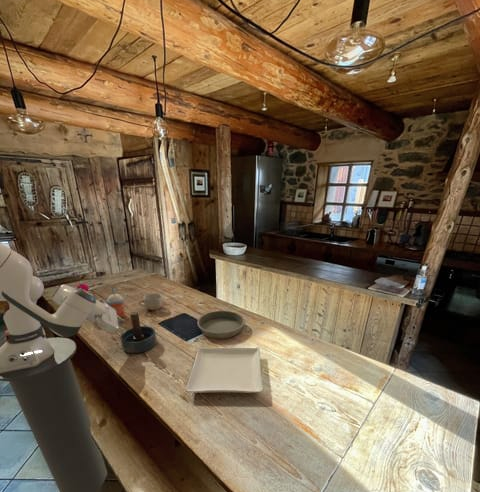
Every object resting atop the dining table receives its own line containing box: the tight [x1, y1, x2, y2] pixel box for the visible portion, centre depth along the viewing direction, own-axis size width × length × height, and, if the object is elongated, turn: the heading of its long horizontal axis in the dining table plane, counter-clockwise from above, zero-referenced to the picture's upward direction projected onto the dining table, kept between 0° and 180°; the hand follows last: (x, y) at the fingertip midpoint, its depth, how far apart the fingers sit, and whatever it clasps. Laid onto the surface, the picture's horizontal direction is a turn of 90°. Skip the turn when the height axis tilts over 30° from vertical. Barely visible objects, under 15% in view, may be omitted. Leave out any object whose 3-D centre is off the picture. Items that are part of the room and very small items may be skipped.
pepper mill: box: [76, 281, 90, 293], centre depth 154 cm, size 7×7×20 cm
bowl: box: [119, 325, 157, 354], centre depth 124 cm, size 15×15×6 cm
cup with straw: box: [105, 286, 125, 319], centre depth 150 cm, size 9×9×18 cm
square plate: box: [185, 347, 264, 394], centre depth 105 cm, size 27×27×4 cm
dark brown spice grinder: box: [129, 311, 144, 342], centre depth 122 cm, size 5×5×16 cm
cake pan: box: [196, 310, 246, 339], centre depth 139 cm, size 25×25×4 cm
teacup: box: [138, 292, 163, 311], centre depth 161 cm, size 14×11×8 cm
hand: (124, 326), depth 120 cm, fingers open, 8 cm apart
